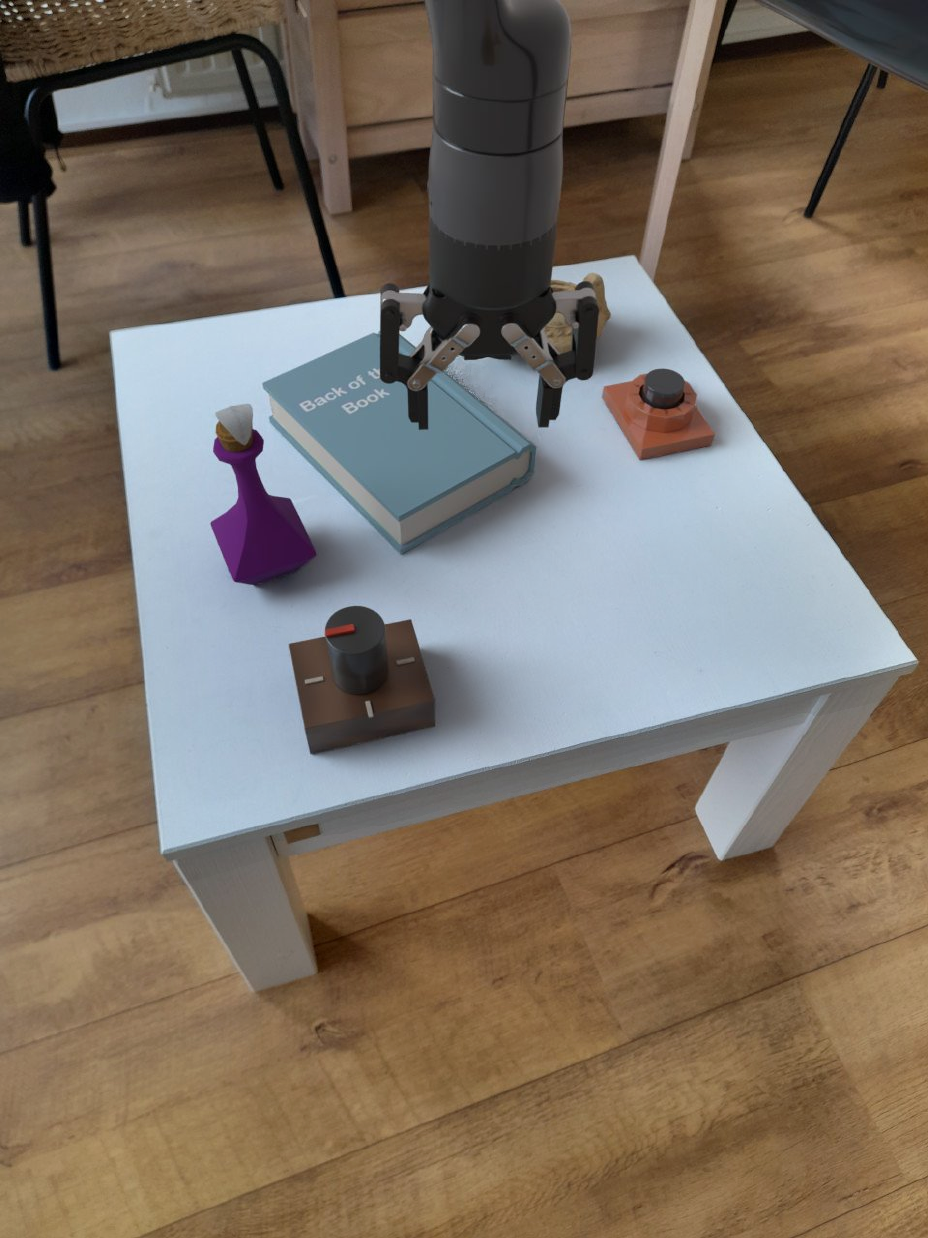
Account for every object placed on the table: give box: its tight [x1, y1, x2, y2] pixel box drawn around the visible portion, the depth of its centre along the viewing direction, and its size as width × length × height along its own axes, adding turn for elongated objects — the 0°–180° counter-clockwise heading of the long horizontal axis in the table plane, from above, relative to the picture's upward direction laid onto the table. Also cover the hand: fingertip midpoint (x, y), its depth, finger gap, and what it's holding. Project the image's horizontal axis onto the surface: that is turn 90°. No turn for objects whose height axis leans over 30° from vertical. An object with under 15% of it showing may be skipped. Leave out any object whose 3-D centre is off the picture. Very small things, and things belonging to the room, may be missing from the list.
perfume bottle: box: [210, 403, 318, 586], centre depth 76 cm, size 8×8×18 cm
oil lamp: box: [517, 272, 612, 355], centre depth 100 cm, size 11×15×8 cm
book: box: [261, 330, 538, 555], centre depth 91 cm, size 23×16×5 cm
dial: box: [324, 605, 388, 694], centre depth 70 cm, size 4×4×6 cm
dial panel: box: [288, 618, 436, 755], centre depth 73 cm, size 10×9×4 cm
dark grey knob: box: [642, 368, 686, 410], centre depth 93 cm, size 4×4×2 cm
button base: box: [601, 372, 716, 461], centre depth 95 cm, size 10×8×4 cm
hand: (483, 421), depth 66 cm, fingers open, 8 cm apart
